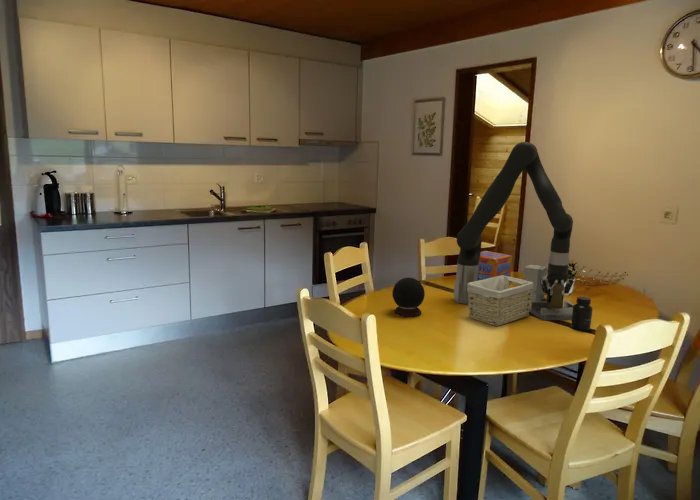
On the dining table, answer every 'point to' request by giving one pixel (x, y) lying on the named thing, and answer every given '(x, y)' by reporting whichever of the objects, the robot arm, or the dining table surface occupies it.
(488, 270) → the game box
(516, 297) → the storage basket
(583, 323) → the supplement bottle
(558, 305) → the cork
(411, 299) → the black ball on stand
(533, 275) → the circuit breaker
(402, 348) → the dining table surface
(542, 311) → the grey wooden tray
